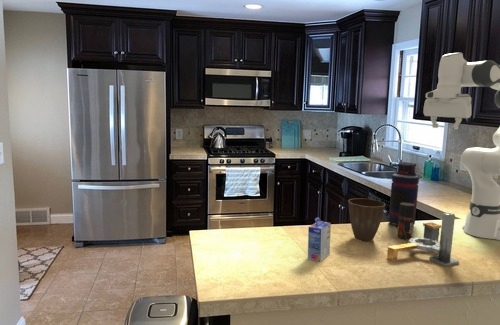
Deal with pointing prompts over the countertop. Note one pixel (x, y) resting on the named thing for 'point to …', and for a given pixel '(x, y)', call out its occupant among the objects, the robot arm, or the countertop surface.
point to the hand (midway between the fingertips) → (444, 128)
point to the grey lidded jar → (431, 231)
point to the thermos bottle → (403, 189)
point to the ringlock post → (438, 247)
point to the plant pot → (365, 217)
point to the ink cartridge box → (319, 240)
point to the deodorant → (405, 221)
